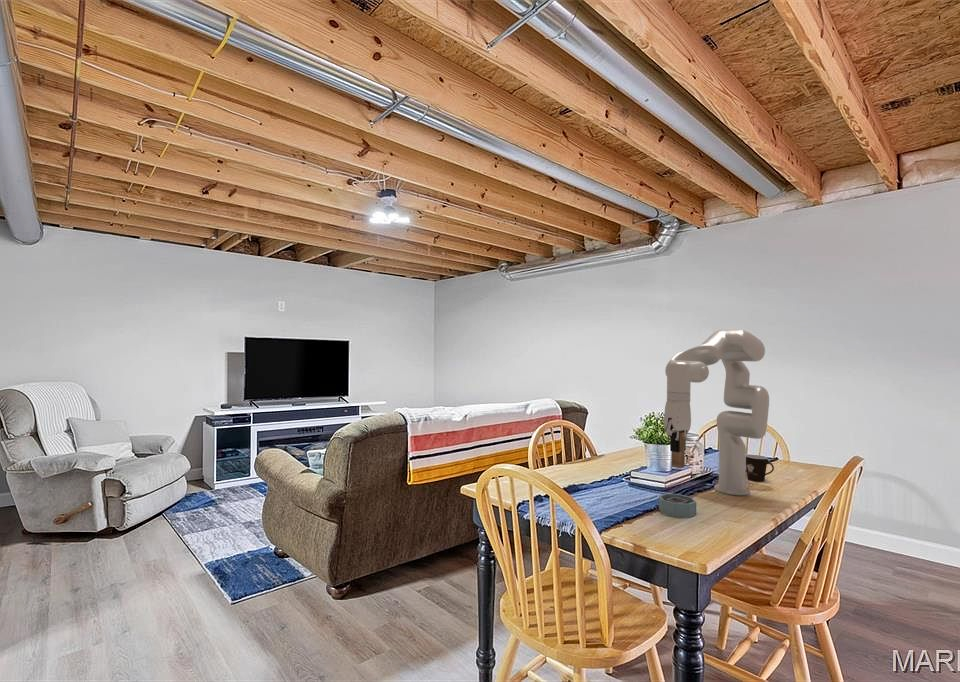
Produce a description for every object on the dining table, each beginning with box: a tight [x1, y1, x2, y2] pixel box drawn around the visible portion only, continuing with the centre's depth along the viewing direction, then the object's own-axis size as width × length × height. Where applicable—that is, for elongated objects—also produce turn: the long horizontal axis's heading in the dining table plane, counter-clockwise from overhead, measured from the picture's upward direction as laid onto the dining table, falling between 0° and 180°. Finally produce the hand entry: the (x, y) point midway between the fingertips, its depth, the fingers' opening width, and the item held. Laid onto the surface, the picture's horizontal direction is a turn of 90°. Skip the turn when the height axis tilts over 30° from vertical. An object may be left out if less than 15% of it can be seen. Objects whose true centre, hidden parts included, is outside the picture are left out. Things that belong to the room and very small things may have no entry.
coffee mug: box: [746, 454, 775, 483], centre depth 209 cm, size 12×9×10 cm
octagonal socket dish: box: [658, 493, 697, 519], centre depth 167 cm, size 11×11×4 cm
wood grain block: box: [671, 431, 686, 469], centre depth 167 cm, size 3×3×12 cm
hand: (677, 450), depth 167 cm, fingers closed on wood grain block, 3 cm apart
